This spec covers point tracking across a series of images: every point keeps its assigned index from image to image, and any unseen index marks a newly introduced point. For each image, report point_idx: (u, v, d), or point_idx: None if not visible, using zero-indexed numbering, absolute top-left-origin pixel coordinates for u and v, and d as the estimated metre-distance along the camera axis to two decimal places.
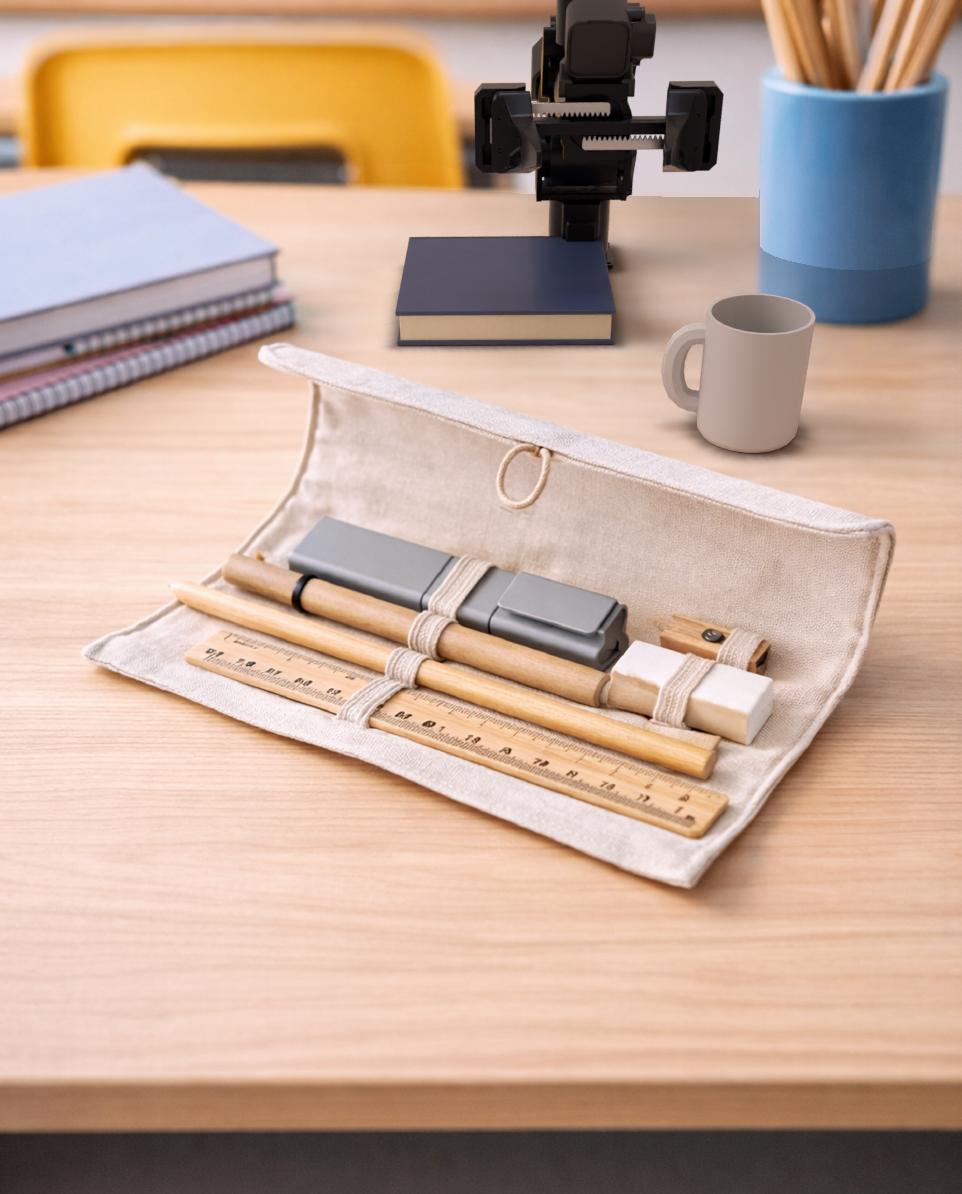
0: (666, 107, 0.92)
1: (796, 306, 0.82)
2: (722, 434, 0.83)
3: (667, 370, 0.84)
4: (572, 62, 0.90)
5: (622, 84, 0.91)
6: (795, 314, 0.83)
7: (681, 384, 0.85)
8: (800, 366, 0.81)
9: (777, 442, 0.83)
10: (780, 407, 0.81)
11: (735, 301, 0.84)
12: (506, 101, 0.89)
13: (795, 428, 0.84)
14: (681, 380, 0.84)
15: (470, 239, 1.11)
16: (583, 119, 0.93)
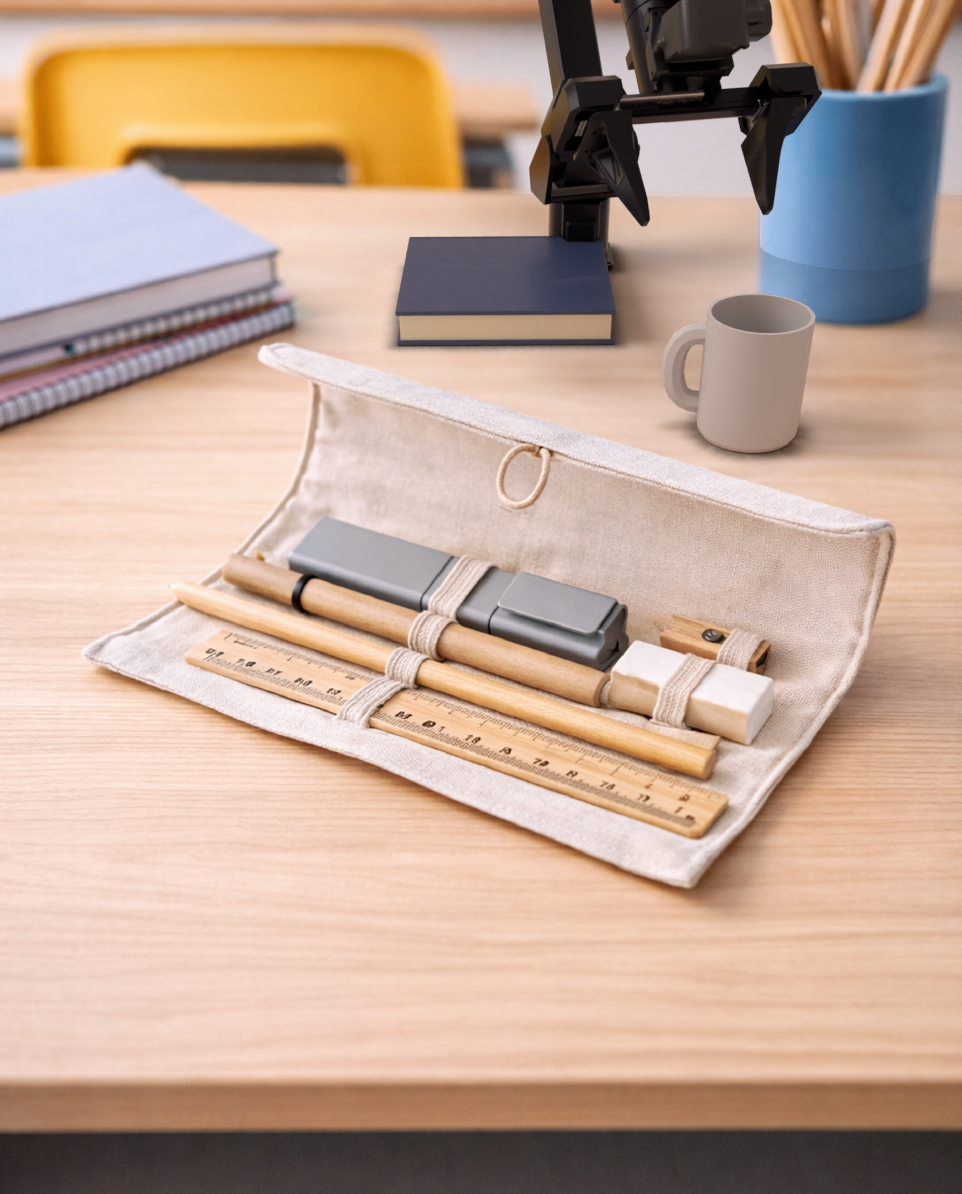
0: (756, 77, 0.86)
1: (796, 306, 0.82)
2: (722, 434, 0.83)
3: (667, 370, 0.84)
4: (674, 57, 0.81)
5: (720, 69, 0.83)
6: (795, 314, 0.83)
7: (681, 384, 0.85)
8: (800, 366, 0.81)
9: (777, 442, 0.83)
10: (780, 407, 0.81)
11: (735, 301, 0.84)
12: (606, 124, 0.82)
13: (795, 428, 0.84)
14: (681, 380, 0.84)
15: (470, 239, 1.11)
16: (669, 90, 0.85)
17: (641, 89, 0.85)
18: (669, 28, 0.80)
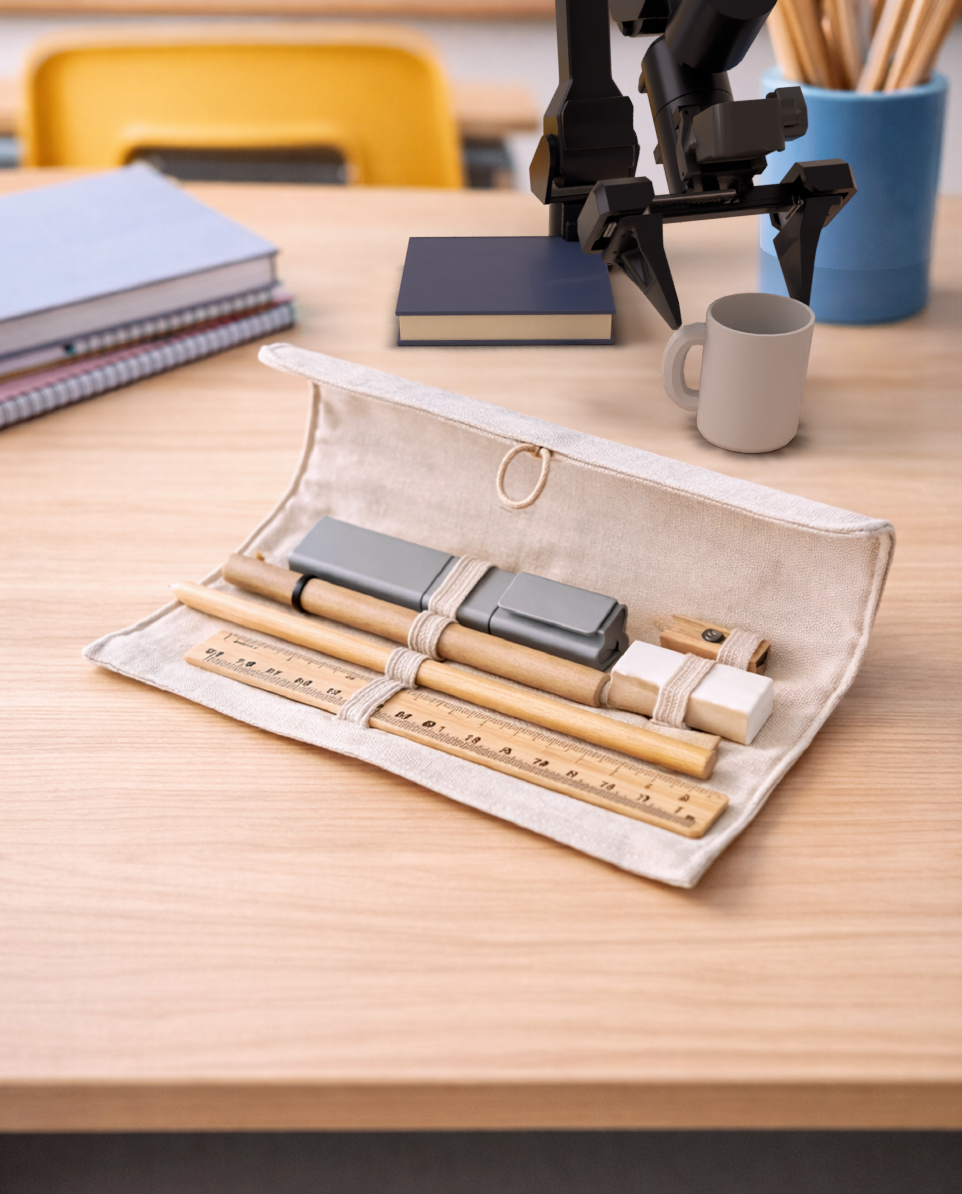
0: (789, 174, 0.83)
1: (796, 305, 0.82)
2: (722, 434, 0.83)
3: (667, 370, 0.84)
4: (706, 159, 0.79)
5: (752, 169, 0.81)
6: (795, 314, 0.83)
7: (681, 384, 0.85)
8: (800, 366, 0.80)
9: (777, 442, 0.83)
10: (779, 407, 0.81)
11: (735, 301, 0.84)
12: (636, 228, 0.79)
13: (795, 428, 0.84)
14: (681, 380, 0.84)
15: (470, 239, 1.11)
16: (699, 188, 0.83)
17: (671, 187, 0.83)
18: (701, 130, 0.78)
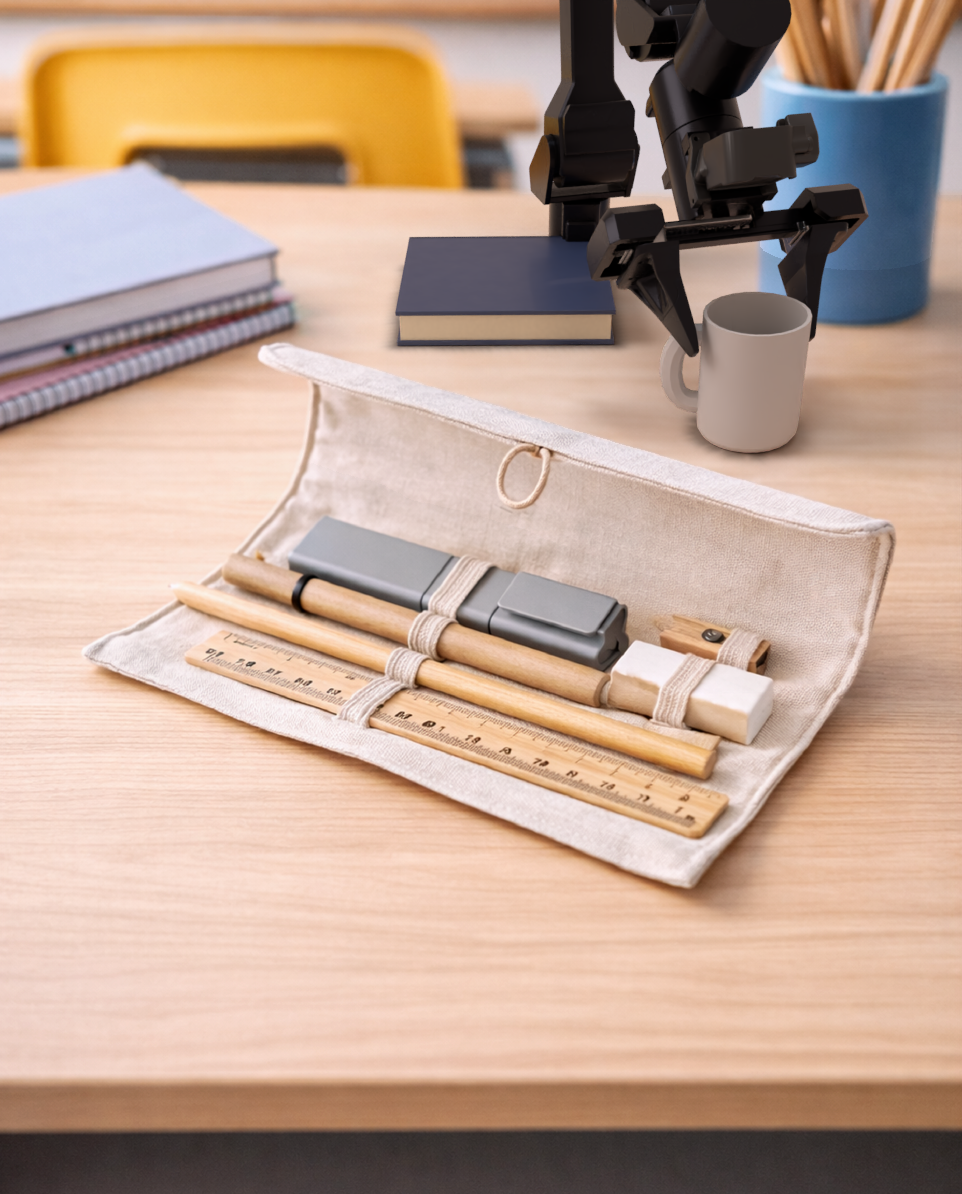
0: (799, 199, 0.83)
1: (793, 304, 0.82)
2: (721, 435, 0.83)
3: (665, 372, 0.84)
4: (717, 186, 0.78)
5: (763, 195, 0.80)
6: (792, 312, 0.82)
7: (680, 385, 0.85)
8: (798, 365, 0.80)
9: (777, 441, 0.83)
10: (778, 407, 0.81)
11: (732, 300, 0.83)
12: (653, 255, 0.79)
13: (795, 426, 0.84)
14: (679, 382, 0.84)
15: (470, 239, 1.11)
16: (709, 214, 0.82)
17: (680, 213, 0.82)
18: (712, 158, 0.77)
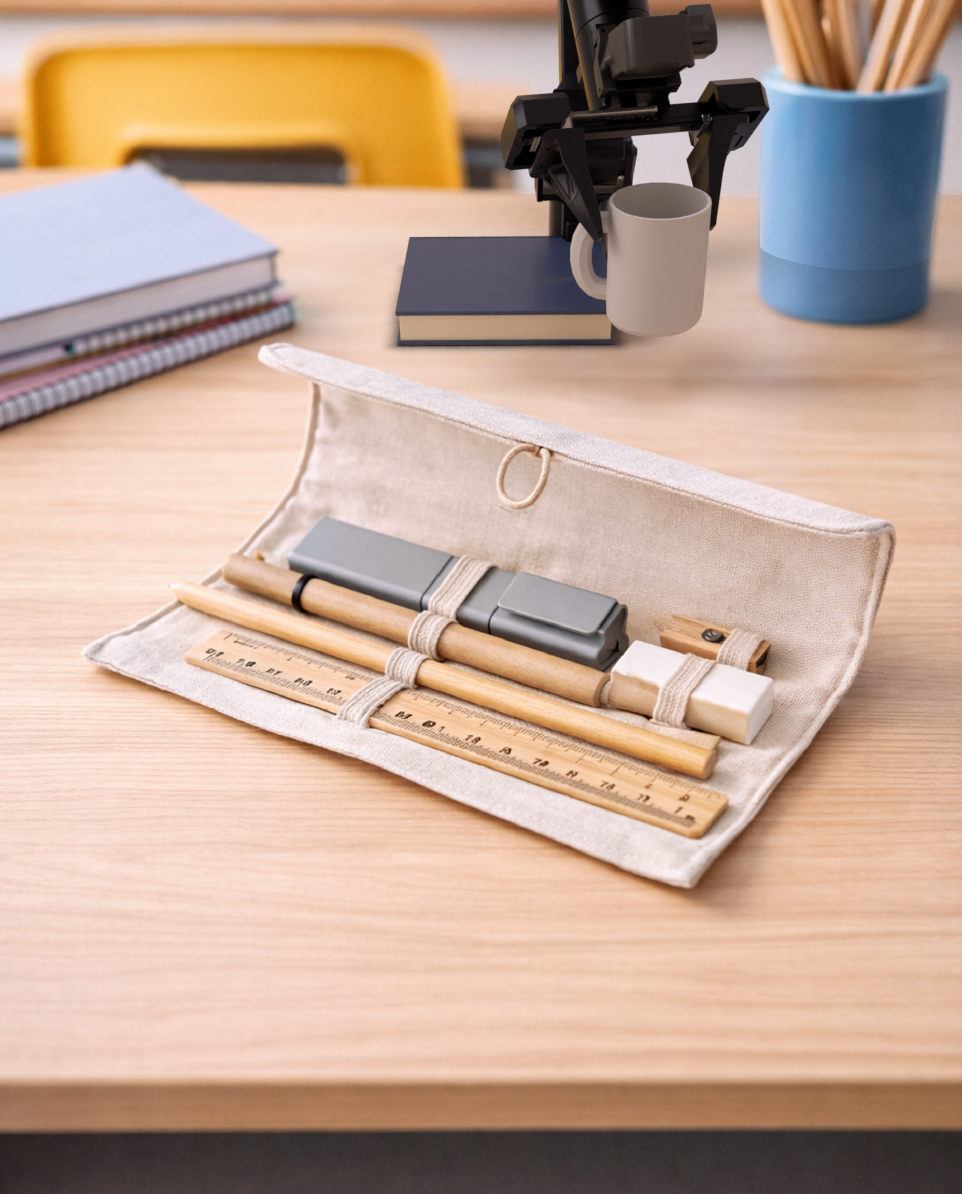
0: (704, 93, 0.86)
1: (696, 193, 0.86)
2: (627, 319, 0.87)
3: (575, 259, 0.88)
4: (621, 75, 0.82)
5: (667, 86, 0.84)
6: (696, 202, 0.86)
7: (589, 273, 0.88)
8: (697, 251, 0.84)
9: (679, 326, 0.87)
10: (679, 291, 0.85)
11: (639, 190, 0.87)
12: (559, 141, 0.82)
13: (698, 313, 0.88)
14: (589, 269, 0.88)
15: (470, 239, 1.11)
16: (617, 105, 0.86)
17: (590, 105, 0.86)
18: (615, 46, 0.80)
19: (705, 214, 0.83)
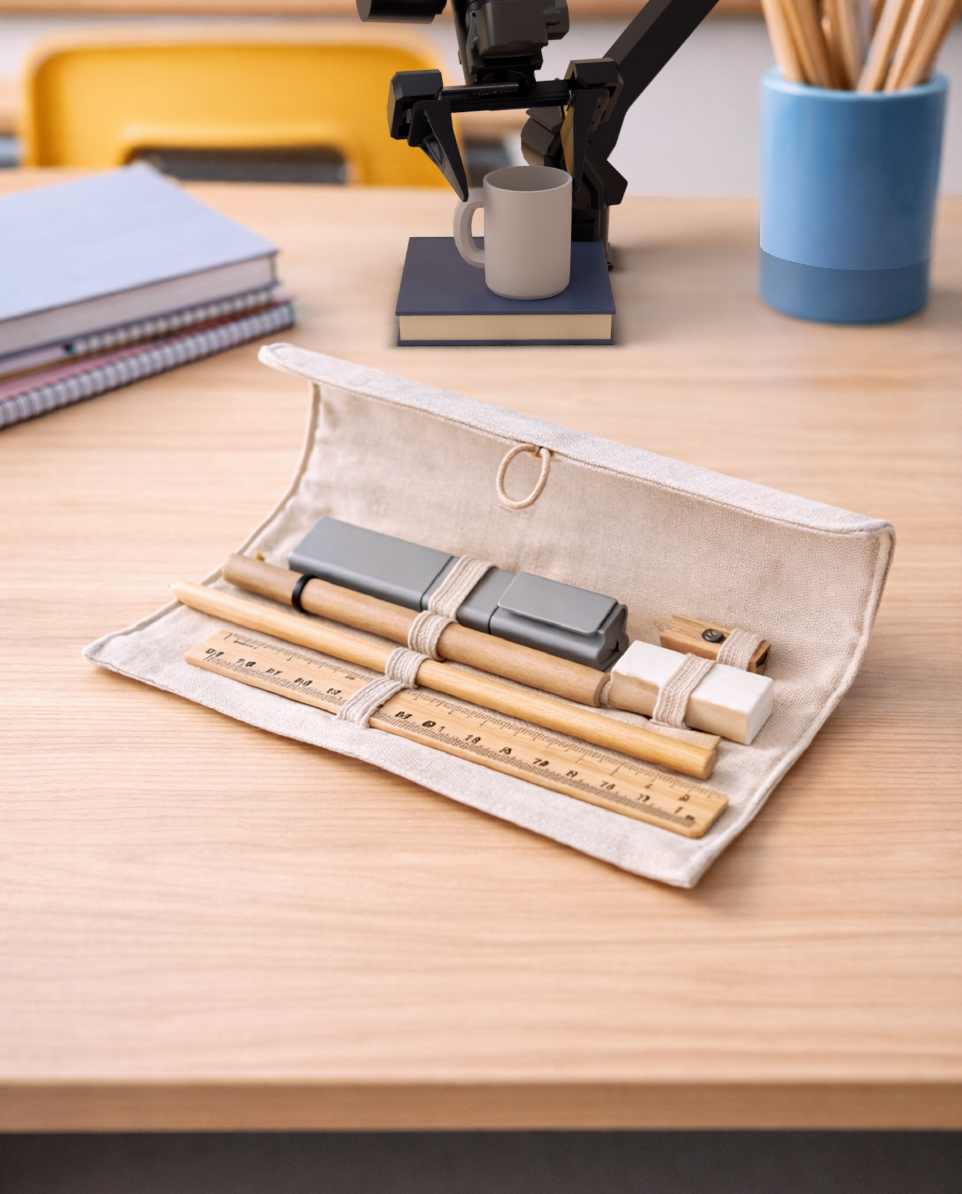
0: (567, 71, 0.97)
1: (561, 174, 0.98)
2: (500, 284, 0.99)
3: (456, 231, 1.00)
4: (486, 53, 0.93)
5: (531, 64, 0.95)
6: (561, 182, 0.98)
7: (469, 243, 1.00)
8: (559, 222, 0.96)
9: (546, 290, 0.98)
10: (544, 258, 0.97)
11: (513, 172, 0.99)
12: (427, 112, 0.93)
13: (564, 279, 0.99)
14: (469, 240, 1.00)
15: None
16: (490, 82, 0.97)
17: (465, 81, 0.97)
18: (480, 28, 0.91)
19: (565, 189, 0.95)
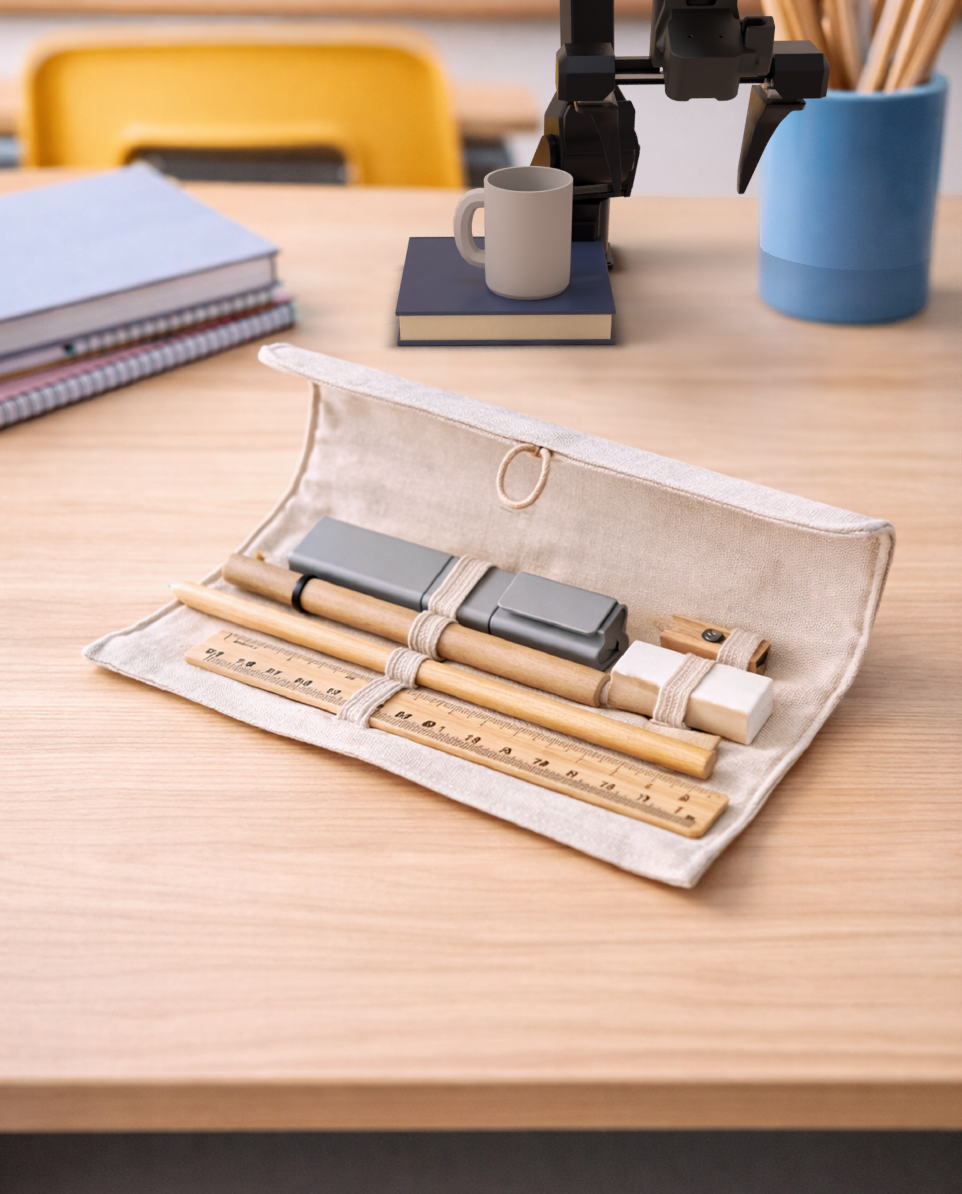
0: None
1: (562, 175, 0.98)
2: (500, 284, 0.99)
3: (456, 230, 1.00)
4: None
5: None
6: (562, 182, 0.98)
7: (470, 243, 1.00)
8: (559, 223, 0.96)
9: (546, 290, 0.99)
10: (544, 258, 0.97)
11: (514, 172, 0.99)
12: (591, 114, 0.84)
13: (564, 280, 0.99)
14: (469, 240, 1.00)
15: None
16: None
17: None
18: (666, 51, 0.78)
19: (565, 190, 0.95)
